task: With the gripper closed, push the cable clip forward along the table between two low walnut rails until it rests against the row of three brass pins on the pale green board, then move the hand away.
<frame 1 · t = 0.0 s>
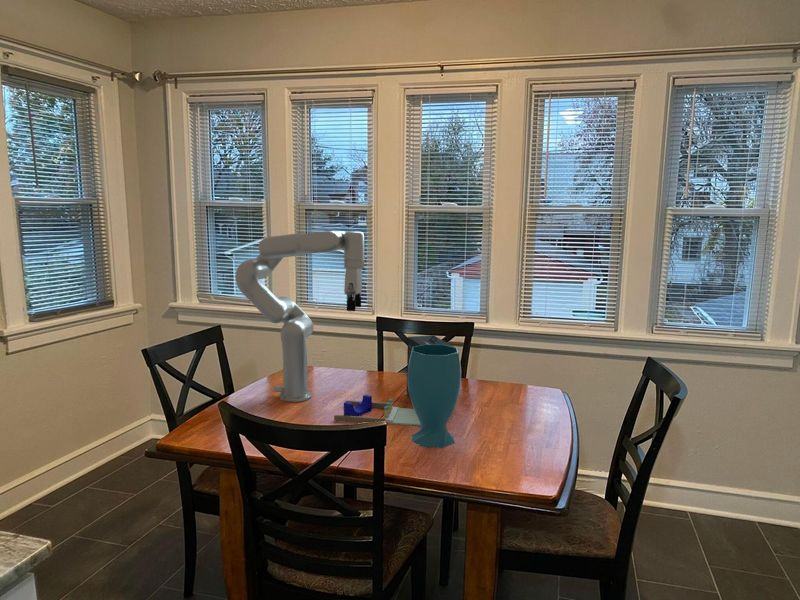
hand: (354, 308, 212), 37 cm above the table, tool pointing down, fingers open, 9 cm apart
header: (388, 416, 201), on the table
cable clip: (356, 415, 203), on the table
headset box: (429, 401, 219), on the table
vase: (433, 439, 181), on the table
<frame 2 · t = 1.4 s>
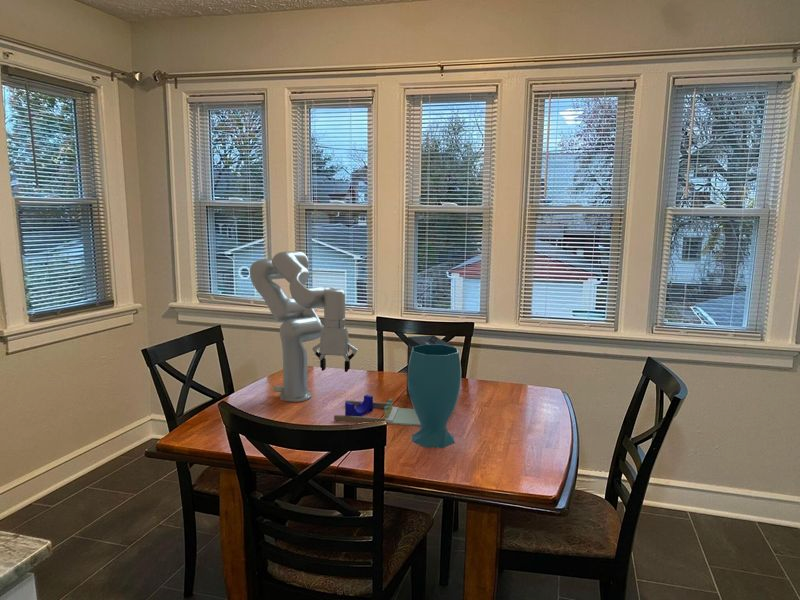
hand: (335, 370, 202), 16 cm above the table, tool pointing down, fingers open, 8 cm apart
nothing on the table moved.
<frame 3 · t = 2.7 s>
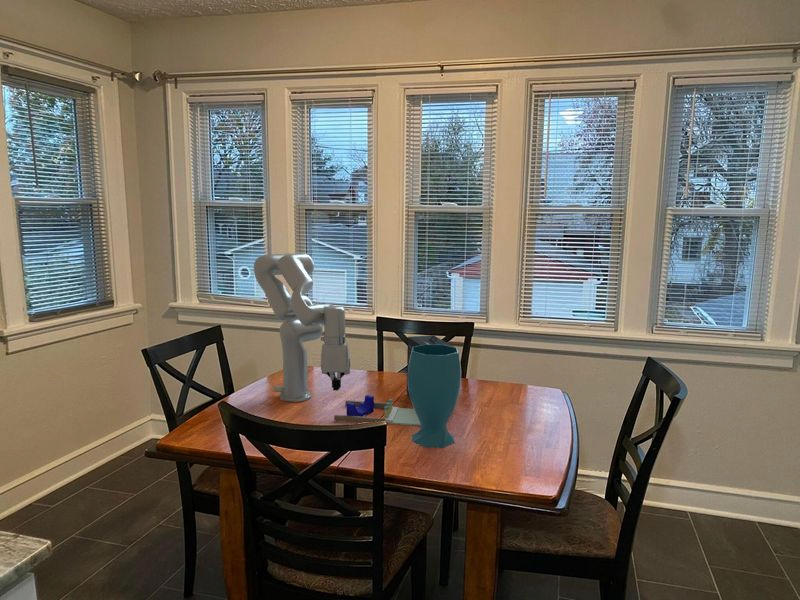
hand: (336, 389, 202), 9 cm above the table, tool pointing down, fingers closed
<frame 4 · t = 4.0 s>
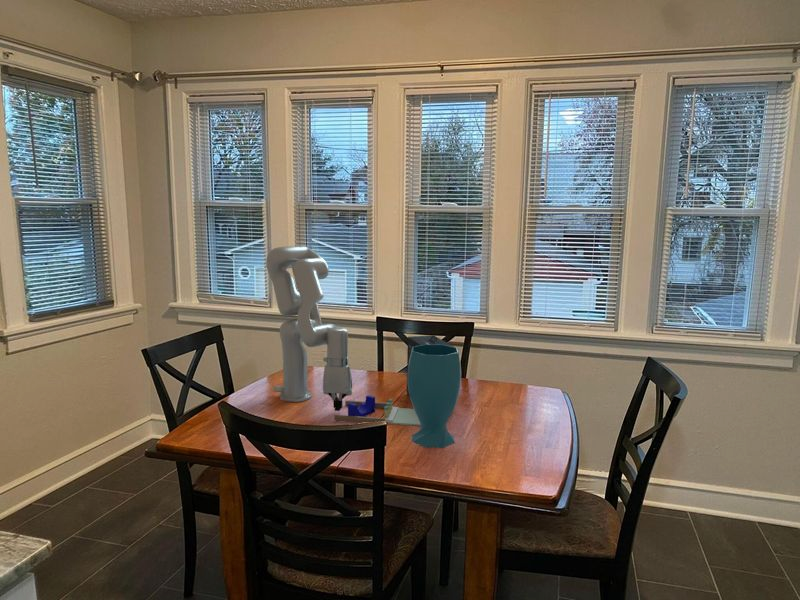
hand: (337, 409, 204), 1 cm above the table, tool pointing down, fingers closed
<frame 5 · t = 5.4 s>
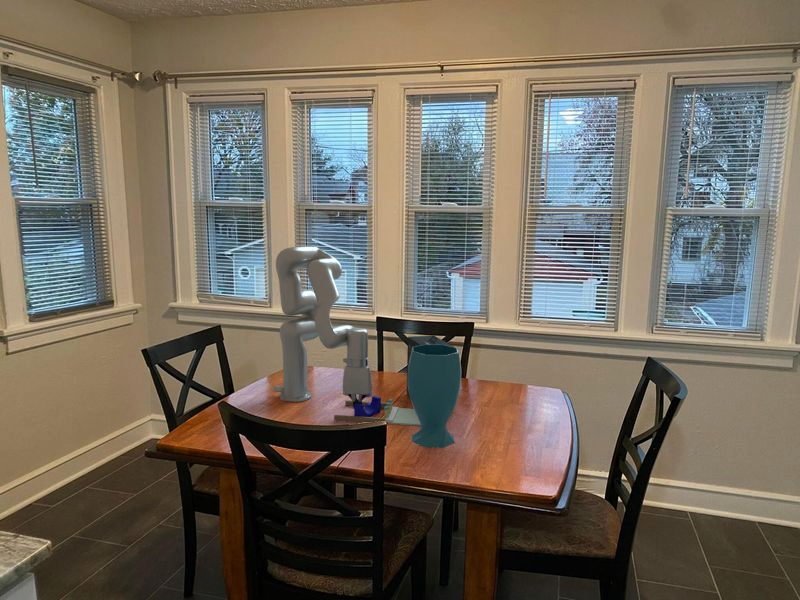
hand: (357, 410, 203), 1 cm above the table, tool pointing down, fingers closed
cable clip: (365, 416, 201), on the table, touching gripper
everything else where it was.
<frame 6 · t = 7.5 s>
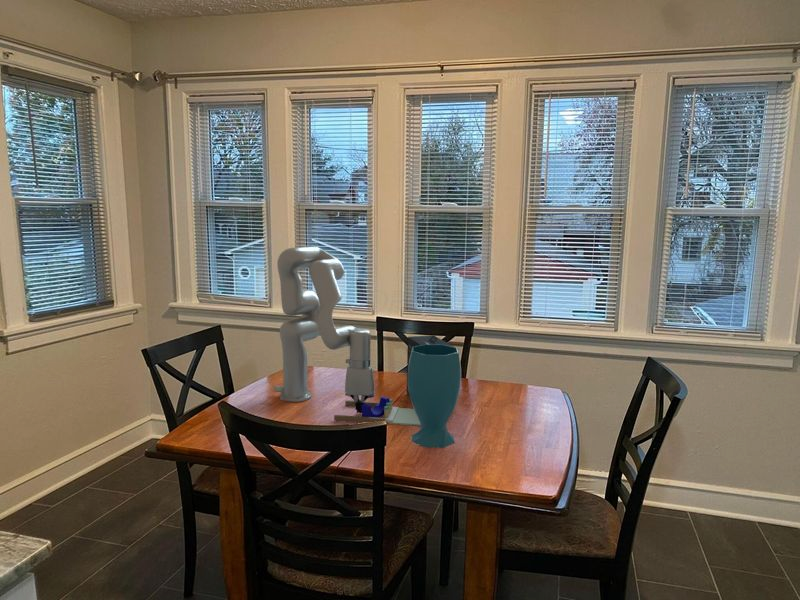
hand: (359, 411, 203), 1 cm above the table, tool pointing down, fingers closed
cable clip: (373, 417, 201), on the table
everything else where it was.
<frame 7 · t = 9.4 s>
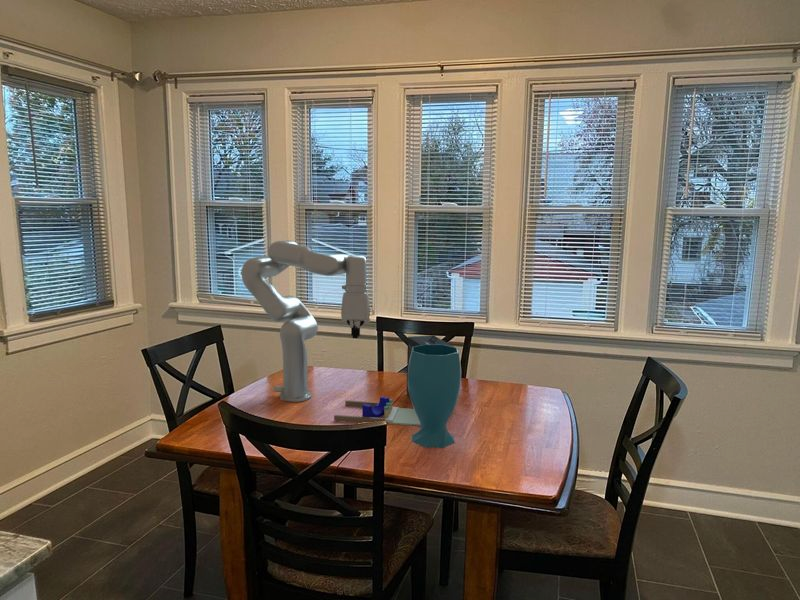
hand: (355, 337, 207), 27 cm above the table, tool pointing down, fingers closed
nothing on the table moved.
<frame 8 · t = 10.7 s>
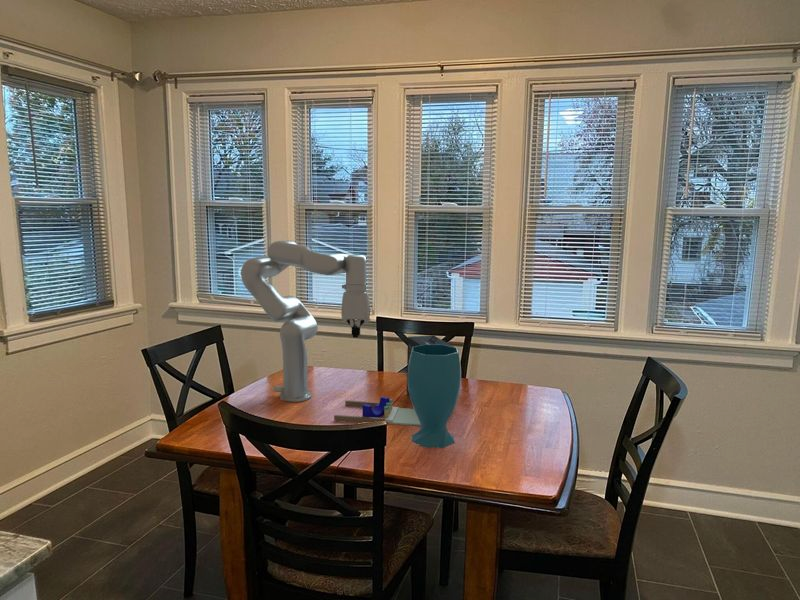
hand: (355, 336, 207), 27 cm above the table, tool pointing down, fingers closed
nothing on the table moved.
at the end: cable clip inside the target area (2.2 cm from its centre), on the table; the gripper is holding nothing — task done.
